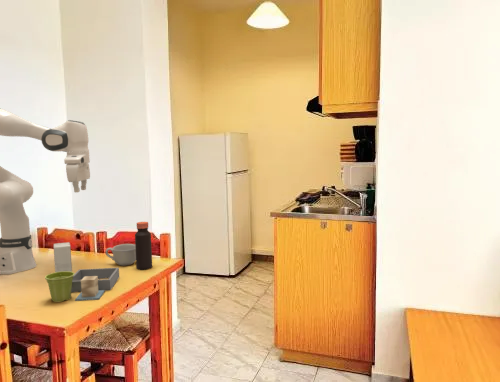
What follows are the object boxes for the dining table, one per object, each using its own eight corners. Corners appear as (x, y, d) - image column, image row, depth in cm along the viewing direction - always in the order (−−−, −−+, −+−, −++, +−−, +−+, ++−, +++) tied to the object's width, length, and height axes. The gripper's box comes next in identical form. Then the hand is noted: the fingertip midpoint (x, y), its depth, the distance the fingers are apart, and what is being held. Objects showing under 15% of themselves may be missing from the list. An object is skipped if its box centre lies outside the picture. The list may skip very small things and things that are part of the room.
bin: (66, 292, 154) (66, 281, 153) (79, 279, 169) (79, 269, 169) (110, 290, 155) (109, 279, 155) (119, 277, 171) (118, 267, 170)
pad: (75, 300, 145) (75, 299, 145) (82, 292, 153) (82, 291, 153) (99, 299, 146) (99, 297, 146) (104, 291, 154) (104, 290, 154)
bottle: (135, 270, 180) (133, 224, 177) (137, 265, 186) (135, 221, 184) (151, 269, 181) (149, 223, 178) (152, 265, 187) (151, 220, 185)
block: (81, 297, 147) (80, 280, 146) (85, 292, 151) (84, 276, 151) (95, 296, 147) (94, 279, 147) (98, 291, 152) (97, 275, 151)
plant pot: (52, 294, 151) (51, 271, 150) (79, 293, 152) (78, 270, 151) (42, 304, 142) (40, 279, 141) (70, 303, 143) (69, 278, 142)
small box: (72, 276, 172) (70, 245, 171) (55, 279, 169) (53, 247, 168) (71, 271, 179) (69, 241, 178) (55, 273, 177) (53, 243, 175)
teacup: (141, 260, 195) (140, 243, 194) (132, 267, 184) (131, 249, 183) (112, 260, 196) (111, 243, 195) (102, 267, 186) (101, 249, 185)
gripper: (78, 158, 189) (80, 188, 190) (62, 159, 168) (64, 193, 170) (92, 158, 189) (94, 188, 191) (78, 159, 169) (80, 193, 170)
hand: (80, 191), depth 180 cm, fingers open, 8 cm apart
